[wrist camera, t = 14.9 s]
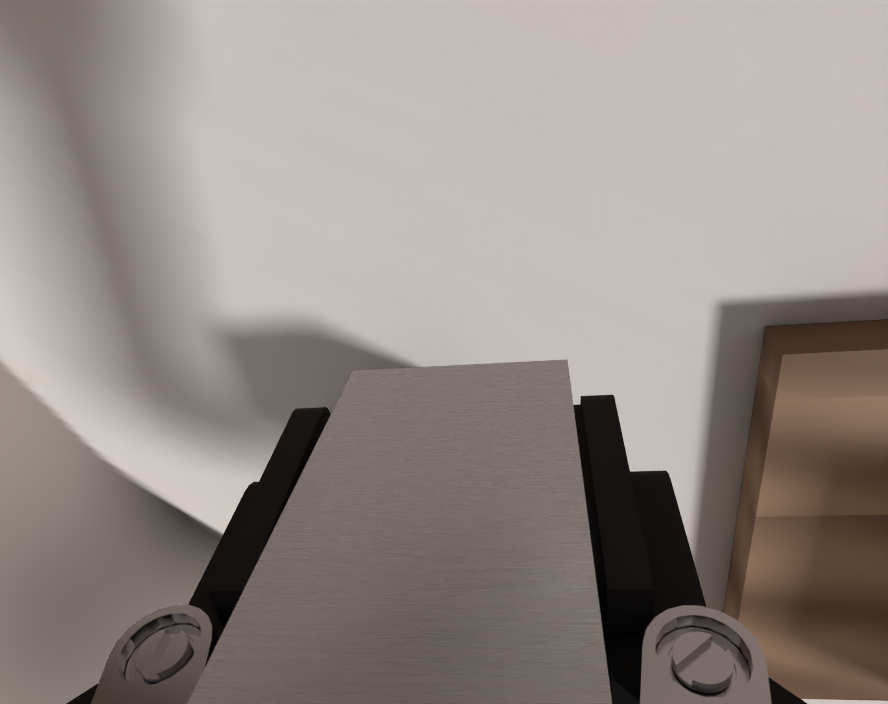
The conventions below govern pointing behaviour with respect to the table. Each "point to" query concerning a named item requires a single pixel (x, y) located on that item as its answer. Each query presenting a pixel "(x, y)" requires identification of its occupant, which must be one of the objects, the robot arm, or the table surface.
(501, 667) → the crook
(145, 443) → the table surface
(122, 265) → the table surface
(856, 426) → the deck
